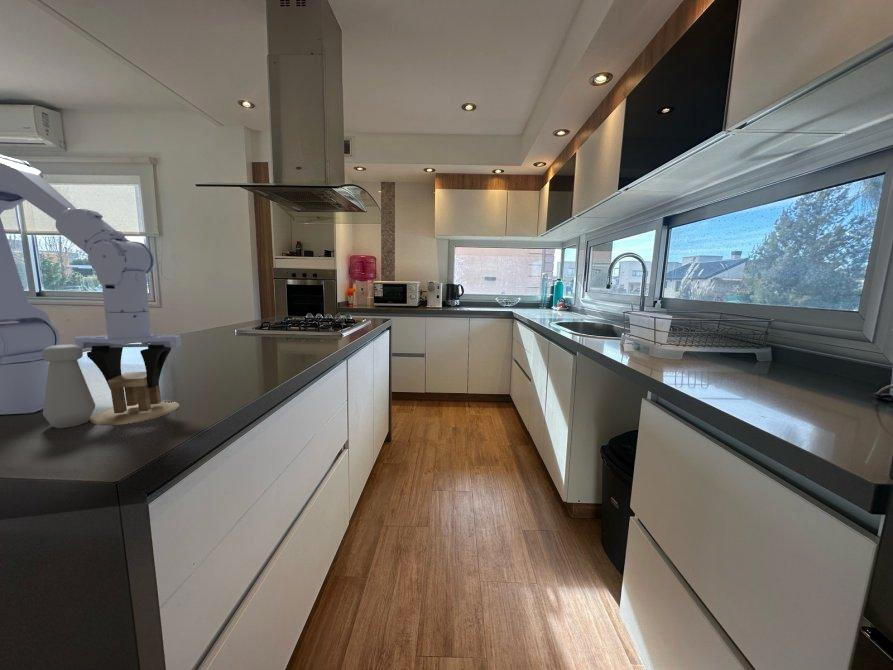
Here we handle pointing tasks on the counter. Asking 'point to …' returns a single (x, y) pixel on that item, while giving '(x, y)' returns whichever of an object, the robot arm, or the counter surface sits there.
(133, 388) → the stool
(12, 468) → the counter surface
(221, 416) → the counter surface
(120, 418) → the trivet
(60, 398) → the salt shaker
